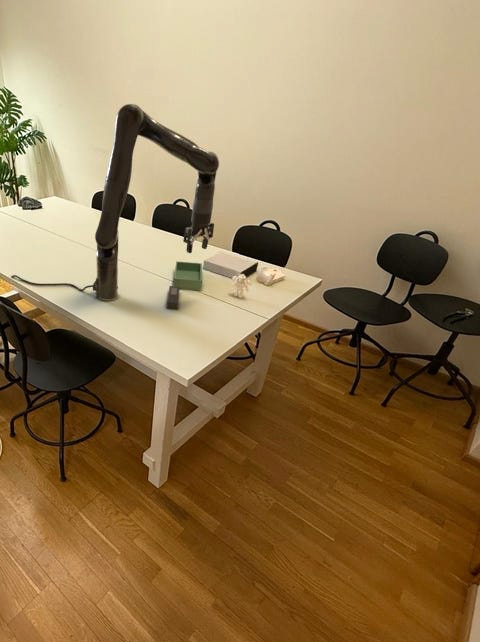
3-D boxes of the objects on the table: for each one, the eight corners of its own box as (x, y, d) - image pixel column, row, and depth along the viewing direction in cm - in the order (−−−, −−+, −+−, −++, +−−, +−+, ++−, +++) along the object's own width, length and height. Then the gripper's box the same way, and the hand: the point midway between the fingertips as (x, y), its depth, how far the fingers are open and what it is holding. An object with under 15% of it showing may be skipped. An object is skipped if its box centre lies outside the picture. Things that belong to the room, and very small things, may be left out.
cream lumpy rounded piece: (265, 286, 183) (272, 274, 178) (255, 278, 187) (262, 266, 181) (282, 281, 189) (289, 269, 184) (272, 272, 193) (279, 261, 187)
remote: (166, 308, 161) (167, 301, 159) (169, 291, 174) (169, 285, 172) (177, 309, 161) (178, 302, 159) (178, 292, 174) (179, 286, 172)
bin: (173, 288, 178) (174, 278, 175) (175, 270, 195) (176, 261, 192) (200, 290, 176) (202, 280, 173) (200, 272, 193) (201, 263, 190)
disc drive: (240, 281, 185) (242, 272, 182) (202, 268, 197) (203, 259, 195) (256, 271, 196) (258, 262, 193) (219, 259, 208) (221, 251, 205)
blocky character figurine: (227, 294, 173) (232, 271, 166) (231, 291, 176) (235, 268, 169) (245, 300, 169) (251, 276, 162) (249, 297, 171) (254, 273, 164)
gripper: (208, 205, 148) (202, 244, 157) (182, 210, 141) (177, 251, 150) (222, 209, 143) (215, 250, 153) (195, 215, 136) (190, 257, 146)
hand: (196, 250), depth 152 cm, fingers open, 8 cm apart
